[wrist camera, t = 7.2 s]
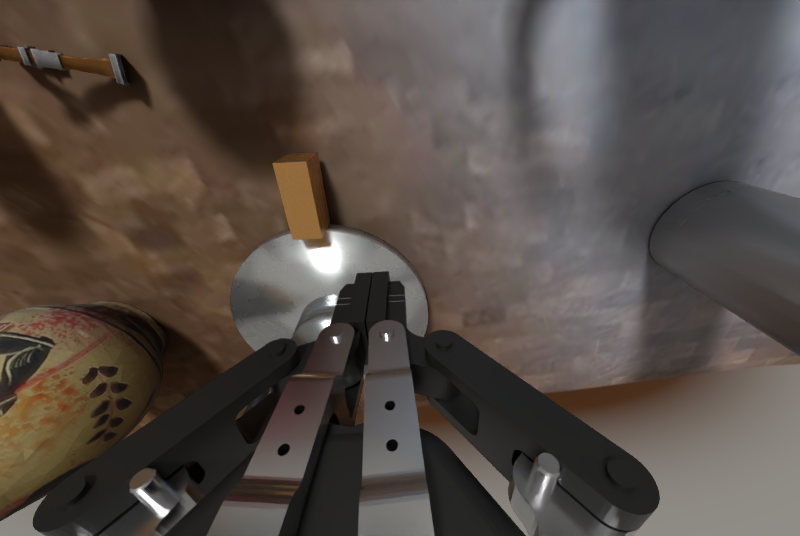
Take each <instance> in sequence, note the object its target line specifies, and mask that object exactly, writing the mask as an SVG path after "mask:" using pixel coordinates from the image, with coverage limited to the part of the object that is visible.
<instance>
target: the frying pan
mask: <svg viewBox="0 0 800 536" xmlns="http://www.w3.org/2000/svg"><path fill="white" fill-rule="evenodd" d="M272 164H273V167H274V171H275V175H276V179H277V183H278V186H279V190H280V194H281V198H282V202H283V205H284V209H285V213H286V217H287V221H288V224H289V228H290V229H287V230H285V231H282V232H280V233H277V234H275V235H274V236H272V237H270V238H269V239H267V240H265V241H264V242H263V243H262V244H260V245H259V246H258V247H257V248H256V249H255V250H254V251H253V252H252V253H251V254H250V256H249V257H248V258H247V259H246V260H245V261H244V262H243V264H242V265H241V266H240V268H239V270H238V271H237V273H236V275H235V278H234V280H233V283H232V288H231V294H230V305H231V310H232V315H233V318H234V321H235V324H236V326H237V328H238V330H239V332H240V333H241V335H242V336H243V338H244V339H245V340H246V342H247V343H248V344H249V345H250V346H251V347H252V349H253V350H254V351H255V352H256V351H257V350H259V349H260V348H262V347H263V346H265V345H266V344H268V343H269V342H271V341H274V340H276V339H281V338H288V339H291V338H292V336H293V333H294V331H295V328H296V326H297V324H298V321H299V319H300V316H301V314H302V312H303V310H304V309H305V307H306V306H307V305H308V304H309V303H310V302H312V301H313V300H315V299H317V298H320V297H323V296H328V295H339V293H340V290H341V289H342V288H343V287H344V286H345V285H346V284H354V283H355V279H356V274H357V273H367V272H382V271H389V277H390V281H400V282H401V283H402V284H403V285H404V287H405V299H406V314H407V328H408V330H409V331H410V332H412V333H413V334H415V335H417V336H421V337H424V335H425V332H426V329H427V324H428V306H427V299H426V294H425V290H424V286H423V284H422V281H421V279H420V277H419V275H418V273H417V272H416V270H415V269H414V267H413V266H412V264H411V263H410V262H409V261H408V260H407V258H406V257H405V256H404V255H402V254H401V253H400V252H399V251H398V250H397V249H396V248H394V247H393V246H391V245H390V244H389V243H387V242H386V241H384V240H382V239H380V238H378V237H376V236H374V235H372V234H370V233H367V232H365V231H362V230H359V229H355V228H351V227H347V226H342V225H334V224H329V223H330V217H329V212H328V206H327V201H326V195H325V190H324V184H323V179H322V174H321V168H320V163H319V157H318V152H315V153H297V154H287V155H286V156H284V157H282V158H281V159H279V160H277V161H275V162H274V163H272ZM367 373H368V372H367ZM365 375H366V374H365ZM365 375H364V376H363V377H364V381H365Z"/></svg>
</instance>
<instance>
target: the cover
mask: <svg viewBox="0 0 800 536" xmlns="http://www.w3.org/2000/svg"><path fill="white" fill-rule="evenodd" d="M338 296H339V295H328V296H323V297H320V298H317V299H315V300H313V301H312V302H310V303H309V304H308V305H307V306H306V307H305V309H304V310H303V312H302V314H301V316H300V319H299V321H298V324H297V326H296V328H295V331H294V333H293V336H292V338H291V339H292V340H293V341H295V343H296V345H297V346H300V345H303V344H307V343H310V342H313V341H315V340H317V338H318V336H319V334H320V332H321V331H322V330H323V329H324V328H325V327H327V326H329V325H330V323H331V319H332V316H333V313H334V309H335V306H336V303H337V299H338ZM367 372H368V365H365V367H364V374H363V376H364V375H365V374H366V373H367Z"/></svg>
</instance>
